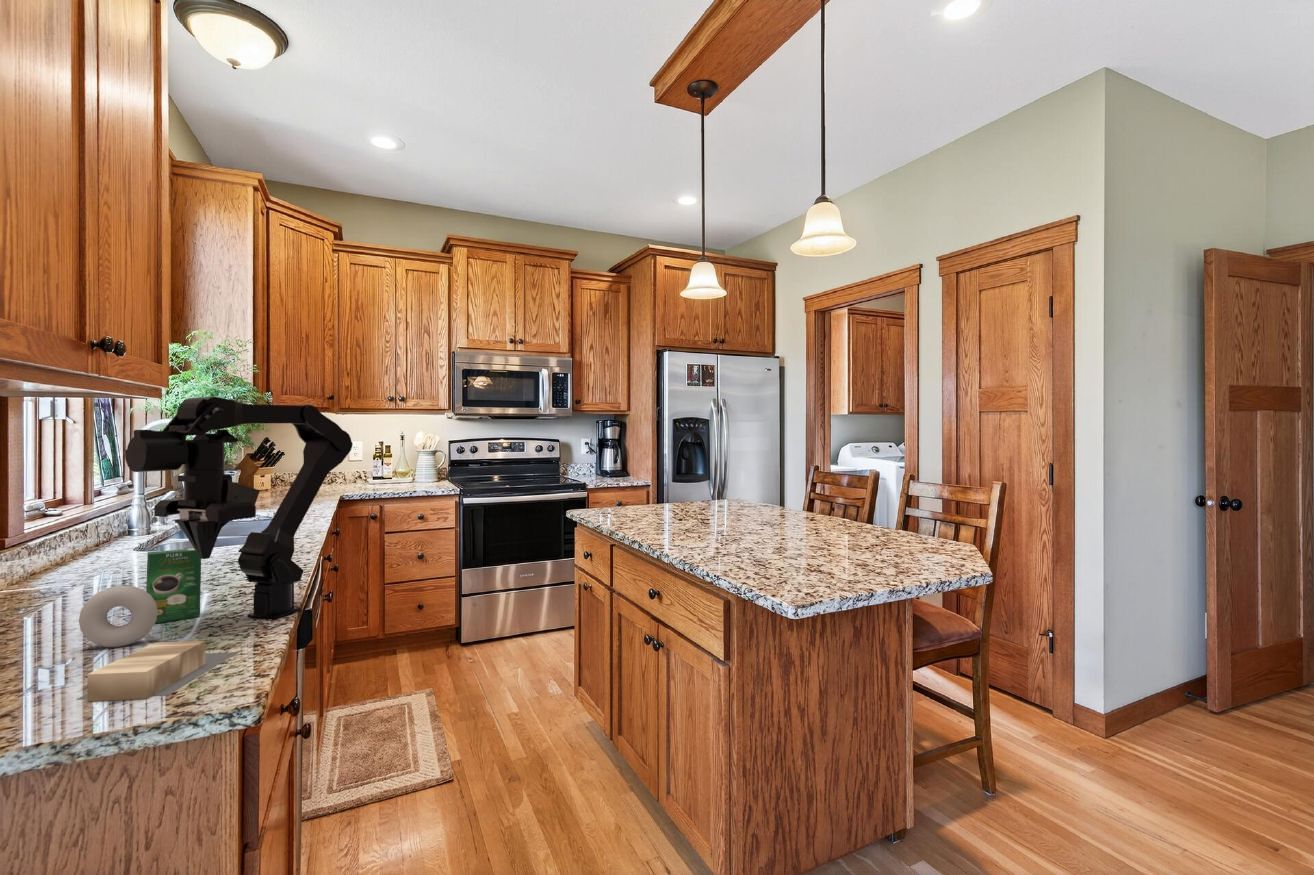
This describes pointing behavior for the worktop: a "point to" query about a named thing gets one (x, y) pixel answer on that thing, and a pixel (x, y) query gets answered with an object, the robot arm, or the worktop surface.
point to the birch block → (145, 671)
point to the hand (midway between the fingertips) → (205, 558)
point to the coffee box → (174, 583)
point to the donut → (118, 636)
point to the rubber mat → (192, 673)
